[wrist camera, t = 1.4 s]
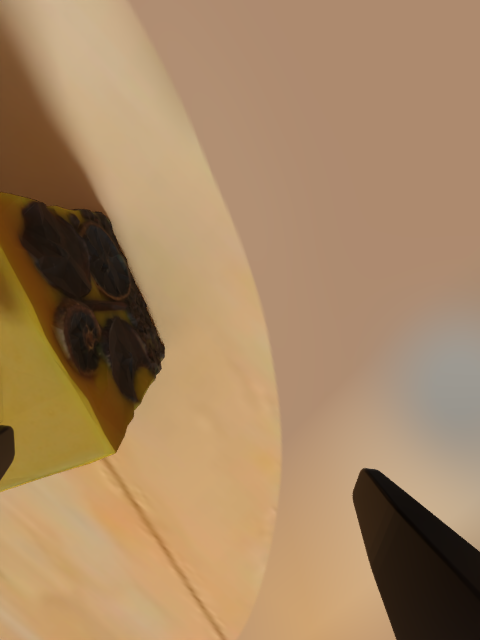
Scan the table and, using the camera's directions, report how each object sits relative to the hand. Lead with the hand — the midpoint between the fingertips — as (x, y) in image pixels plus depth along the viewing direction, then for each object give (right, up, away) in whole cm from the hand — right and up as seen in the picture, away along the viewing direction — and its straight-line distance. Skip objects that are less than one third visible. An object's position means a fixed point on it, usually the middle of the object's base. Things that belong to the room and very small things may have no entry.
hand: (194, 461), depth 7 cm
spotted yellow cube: (-10, +4, +12) cm, 16 cm away
